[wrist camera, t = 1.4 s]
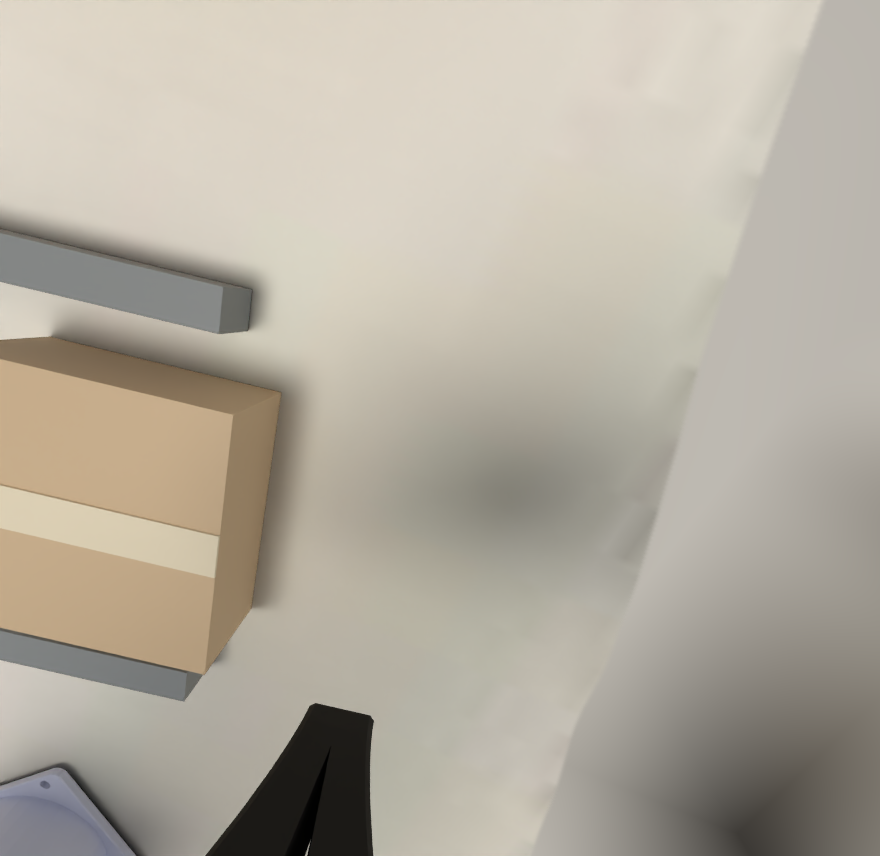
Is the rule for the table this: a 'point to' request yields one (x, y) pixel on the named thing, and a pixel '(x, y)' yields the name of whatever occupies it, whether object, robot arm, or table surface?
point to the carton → (129, 501)
